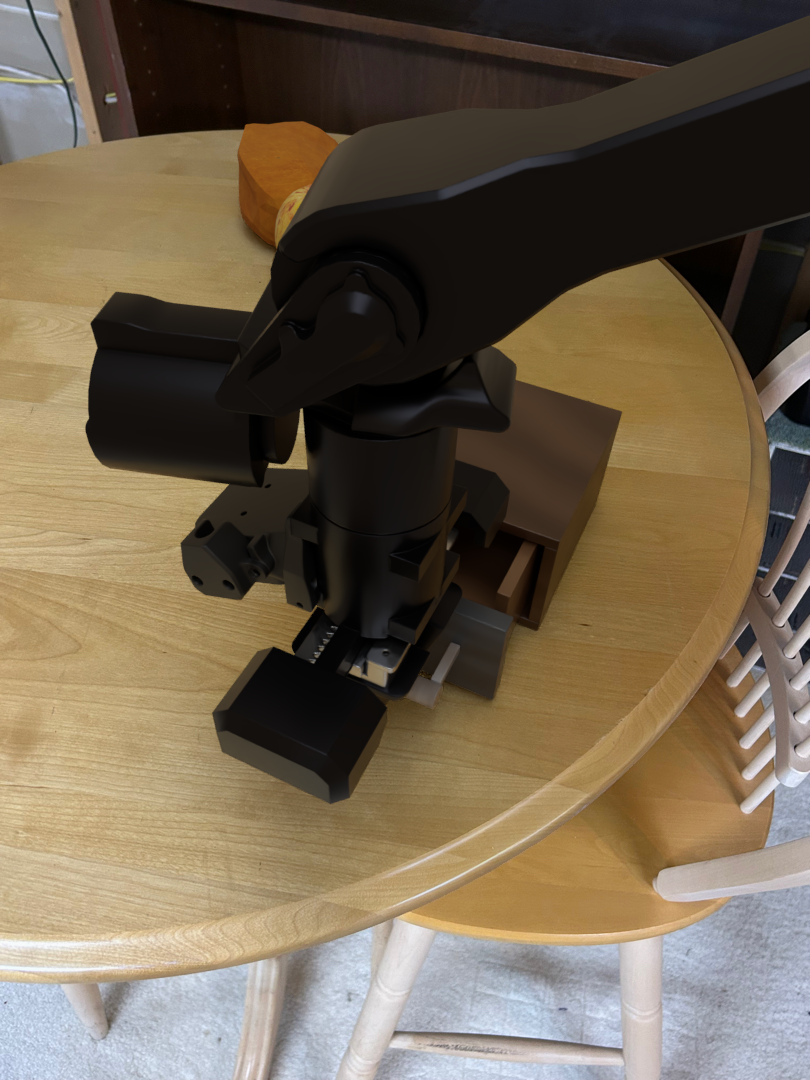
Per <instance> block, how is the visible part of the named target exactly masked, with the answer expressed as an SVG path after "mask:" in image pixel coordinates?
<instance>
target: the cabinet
mask: <svg viewBox="0 0 810 1080" xmlns="http://www.w3.org/2000/svg"><path fill="white" fill-rule="evenodd" d="M622 415H623V411H622V410H619V409H615V408H613V407H609V406H606V405H602V404H599V403H596V402H592V401H589V400H586V399H583V398H578V397H576V396H572V395H568V394H567V393H566V394H565V393H561V392H559V391H555V390H551V389H548V388H546V387H541V386H540V385H539V386H538V385H535V384H531V383H528V382H525V381H521V380H518V379H516V382H515V391H514V400H513V408H512V417H511V425H510V427H509V429H507V430H506V431H505V432H502V433H494V432H486V431H478V430H470V429H462V428H458V435H457V446H456V456H455V459H456V460H459V461H462V462H465V463H468V464H471V465H474V466H477V467H480V468H483V469H486V470H489V471H492V472H495V473H496V474H497V475H498V476H499V477H500V479H501V480H502V481H503V483H504V484H505V485H506V486H507V488H508V489H509V490H510V495H509V501H508V507H507V513H506V517H505V519H504V521H503V522H502V524H501V526H500V528H499V530H501V531H504V532H506V533H509V534H512V535H515V536H518V537H520V538H523V539H526V540H529V541H532V542H535V543H537V544H540V545H543V546H545V547H544V552H543V556H542V560H541V565H540V569H539V573H538V578H537V581H536V583H535V585H534V587H533V589H532V591H531V594H530V596H529V598H528V600H527V602H526V604H525V606H524V608H523V610H522V612H521V614H520V616H519V618H518V620H517V622H516V624H518V625H520V626H523V627H525V628H527V629H531V630H533V631H535V632H536V631H537V632H538V631H539V629H540V627H541V625H542V622H543V621H544V619H545V616H546V614H547V611H548V610H549V608H550V605H551V603H552V600H553V598H554V597H555V595H556V592H557V589H558V588H559V585H560V583H561V581H562V579H563V577H564V574H565V572H566V570H567V568H568V566H569V564H570V561H571V559H572V556H573V555H574V552H575V550H576V548H577V546H578V544H579V542H580V540H581V537H582V535H583V533H584V530H585V529H586V527H587V524H588V522H589V520H590V518H591V516H592V514H593V512H594V509H595V506H596V505H597V502H598V499H599V495H600V492H601V489H602V485H603V481H604V477H605V474H606V472H607V467H608V463H609V461H610V457H611V453H612V449H613V447H614V443H615V440H616V435H617V432H618V429H619V425H620V421H621V419H622Z"/></svg>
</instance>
